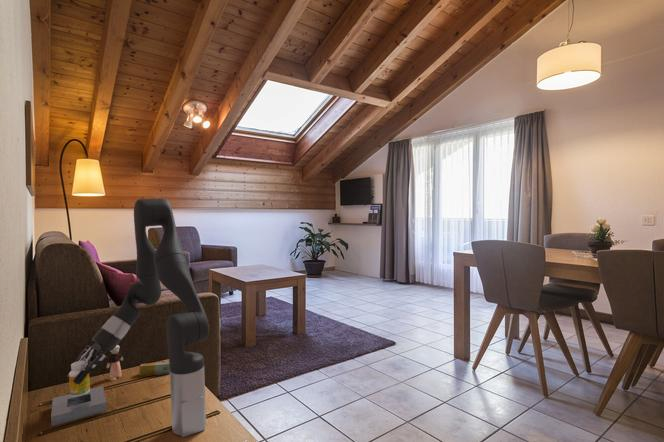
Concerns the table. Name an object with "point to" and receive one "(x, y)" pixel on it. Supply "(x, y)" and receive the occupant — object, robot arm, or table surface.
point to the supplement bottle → (83, 386)
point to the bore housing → (78, 406)
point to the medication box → (154, 368)
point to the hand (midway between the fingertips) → (72, 380)
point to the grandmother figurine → (115, 364)
